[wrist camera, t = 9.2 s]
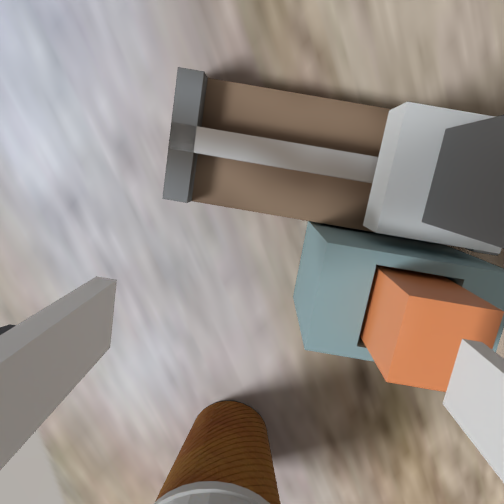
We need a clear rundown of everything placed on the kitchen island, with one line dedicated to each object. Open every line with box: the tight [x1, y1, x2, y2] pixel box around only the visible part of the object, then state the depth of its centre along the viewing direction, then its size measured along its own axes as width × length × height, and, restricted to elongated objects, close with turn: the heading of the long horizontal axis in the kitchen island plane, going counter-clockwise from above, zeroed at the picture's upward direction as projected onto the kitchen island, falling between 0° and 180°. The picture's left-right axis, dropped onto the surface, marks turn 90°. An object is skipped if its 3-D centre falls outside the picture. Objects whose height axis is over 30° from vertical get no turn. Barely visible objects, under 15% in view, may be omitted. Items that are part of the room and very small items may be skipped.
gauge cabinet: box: [293, 221, 504, 362], centre depth 25 cm, size 6×11×9 cm, turn 80°
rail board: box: [163, 67, 498, 256], centre depth 26 cm, size 8×22×4 cm, turn 81°
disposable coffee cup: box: [154, 401, 280, 504], centre depth 26 cm, size 10×10×12 cm
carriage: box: [363, 102, 504, 254], centre depth 17 cm, size 7×7×13 cm
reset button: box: [360, 265, 504, 392], centre depth 20 cm, size 4×4×7 cm
